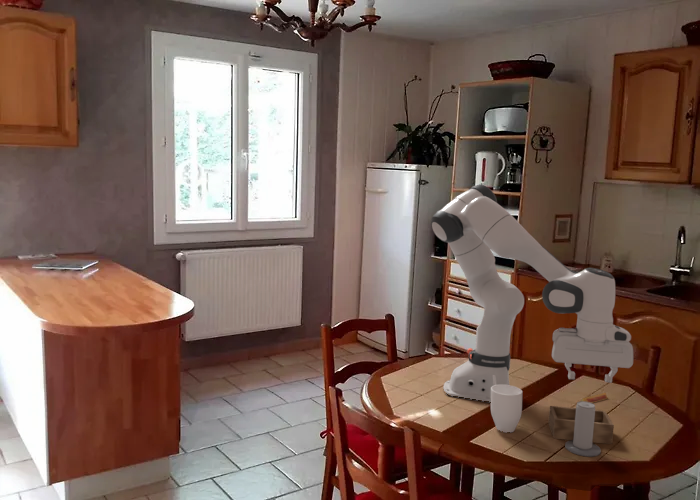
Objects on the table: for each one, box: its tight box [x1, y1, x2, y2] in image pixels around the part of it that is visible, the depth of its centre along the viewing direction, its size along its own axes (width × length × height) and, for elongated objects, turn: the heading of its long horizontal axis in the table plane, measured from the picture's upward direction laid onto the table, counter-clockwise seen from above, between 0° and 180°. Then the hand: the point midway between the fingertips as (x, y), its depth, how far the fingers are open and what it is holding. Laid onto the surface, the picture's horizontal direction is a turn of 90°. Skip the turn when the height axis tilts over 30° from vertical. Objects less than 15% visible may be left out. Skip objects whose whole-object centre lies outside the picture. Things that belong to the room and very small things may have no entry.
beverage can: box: [573, 400, 596, 450], centre depth 169 cm, size 5×5×12 cm
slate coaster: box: [564, 440, 602, 458], centre depth 170 cm, size 9×9×1 cm
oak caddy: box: [548, 405, 615, 445], centre depth 180 cm, size 16×11×6 cm
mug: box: [490, 384, 523, 433], centre depth 182 cm, size 12×9×12 cm
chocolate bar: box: [580, 392, 609, 404], centre depth 207 cm, size 3×12×2 cm, turn 123°
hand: (589, 380), depth 168 cm, fingers open, 8 cm apart
